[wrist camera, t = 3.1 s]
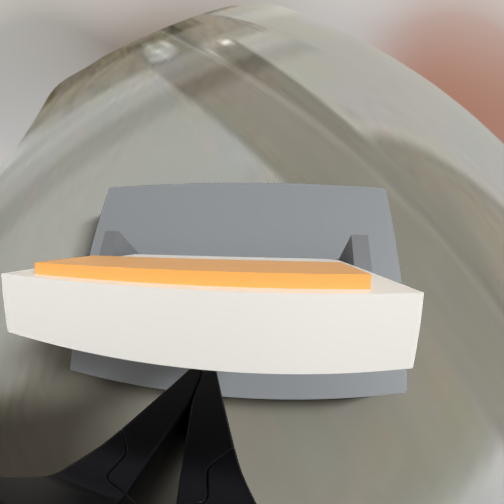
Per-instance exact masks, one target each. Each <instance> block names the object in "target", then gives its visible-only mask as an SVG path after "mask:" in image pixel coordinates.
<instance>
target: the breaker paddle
mask: <svg viewBox="0 0 504 504" xmlns="http://www.w3.org/2000/svg"><path fill="white" fill-rule="evenodd" d="M1 276H2V289H3V299H4V308H5V316H6V323H7V329H8V332H11V333H14V334H17V335H21V336H24V337H28V338H31V339H35V340H38V341H42V342H46V343H50V344H54V345H58V346H62V347H66V348H70V349H74V350H79V351H83V352H88V353H93V354H98V355H103V356H108V357H113V358H119V359H125V360H131V361H137V362H143V363H150V364H157V365H165V366H172V367H181V368H190V369H200V370H211V371H224V372H239V373H260V374H340V373H361V372H376V371H388V370H399V369H408V368H413V364H414V359H415V354H416V348H417V342H418V336H419V329H420V322H421V314H422V305H423V296H424V293H423V292H420V291H418V290H415V289H413V288H410V287H408V286H405V285H403V284H400V283H397V282H395V281H392V280H390V279H387V278H384V277H382V276H379V275H377V274H374V273H371V272H369V271H366V270H364V269H361V268H358V267H356V266H353V265H350V264H348V263H345V262H342V261H340V260H337V259H311V258H265V257H223V256H184V255H148V254H133V255H125V256H96V255H92V256H84V257H75V258H67V259H59V260H51V261H42V262H35V269H28V270H22V271H15V272H9V273H2V274H1Z"/></svg>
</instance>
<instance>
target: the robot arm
mask: <svg viewBox="0 0 504 504" xmlns="http://www.w3.org/2000/svg"><path fill="white" fill-rule="evenodd" d="M0 504H256V502H255V500H254V498H253V496H252V494H251V492H250V490H249V488H248V486H247V483H246V481H245V479H244V476H243V474H242V471H241V468H240V465H239V462H238V459H237V455H236V451H235V448H234V444H233V440H232V436H231V432H230V428H229V423H228V419H227V415H226V411H225V406H224V402H223V398H222V393H221V389H220V384H219V380H218V375H217V371H211V370H204V371H203V370H200V369H189V370H188V371H187V372H186V373H185V374H184V375H182V376H181V377H180V378H179V379H178V380H177V381H176V382H175V383H174V384H172V385H171V386H170V387H169V388H168V389H167V390H166V391H165V392H164V393H162V394H161V395H160V396H159V397H158V398H157V399H156V400H155V401H153V402H152V403H151V404H150V405H149V406H148V407H147V408H145V409H144V410H143V411H142V412H141V413H140V414H138V415H137V416H136V417H135V418H134V419H133V420H132V421H130V422H129V423H128V424H127V425H126V426H125V427H123V428H122V430H120V431H118V432H117V433H116V434H115V435H114V436H113V437H111V438H110V439H109V440H107V441H106V442H105V443H104V444H102V445H101V446H99V447H98V448H97V449H95V450H94V451H92V452H91V453H89V454H88V455H86V456H84V457H83V458H81V459H80V460H78V461H76V462H75V463H73V464H71V465H70V466H68V467H66V468H65V469H63V470H61V471H59V472H57V473H55V474H52V475H48V476H39V477H2V476H0Z"/></svg>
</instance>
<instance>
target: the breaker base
mask: <svg viewBox="0 0 504 504" xmlns="http://www.w3.org/2000/svg"><path fill="white" fill-rule="evenodd" d="M133 254H148V255H184V256H223V257H265V258H311V259H337V260H340V261H342V262H345V263H348V264H350V265H353V266H356V267H358V268H361V269H364V270H366V271H369V272H371V273H374V274H377V275H379V276H382V277H384V278H387V279H390V280H392V281H395V282H397V283H400V284H401V276H400V268H399V261H398V254H397V247H396V241H395V235H394V229H393V223H392V218H391V212H390V207H389V202H388V198H387V193H386V189H384V188H371V187H356V186H340V185H319V184H291V183H191V184H163V185H142V186H126V187H112V188H109V190H108V193H107V196H106V199H105V202H104V206H103V209H102V212H101V215H100V219H99V222H98V226H97V229H96V233H95V236H94V240H93V244H92V247H91V251H90V255H89V256H92V255H96V256H125V255H133ZM189 369H190V368H181V367H172V366H165V365H157V364H150V363H143V362H137V361H131V360H125V359H119V358H113V357H108V356H103V355H98V354H93V353H88V352H83V351H79V350H74V349H72V353H71V362H70V370H72V371H76V372H80V373H84V374H87V375H92V376H96V377H100V378H104V379H109V380H113V381H118V382H123V383H128V384H133V385H139V386H144V387H150V388H156V389H163V390H167V389H168V388H169V387H170V386H171V385H172V384H174V383H175V382H176V381H177V380H178V379H179V378H180V377H181V376H182V375H184V374H185V373H186V372H187V371H188V370H189ZM203 371H204V370H203ZM217 375H218V380H219V384H220V389H221V393H222V396H223V397H236V398H254V399H337V398H354V397H368V396H379V395H388V394H397V393H405V392H407V369H399V370H388V371H376V372H361V373H340V374H260V373H239V372H224V371H217Z"/></svg>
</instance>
